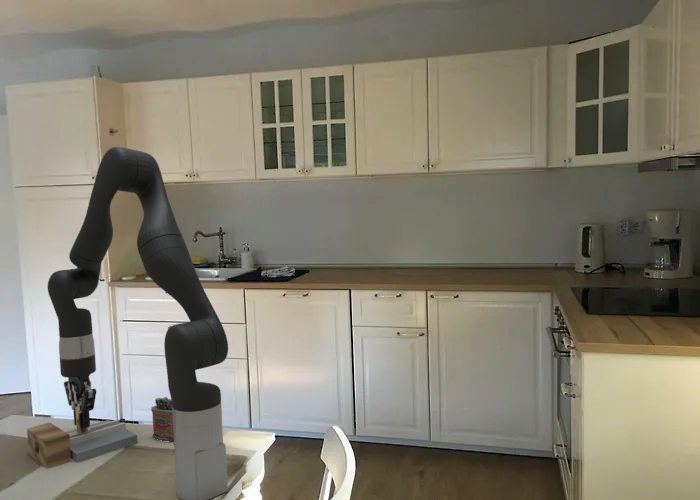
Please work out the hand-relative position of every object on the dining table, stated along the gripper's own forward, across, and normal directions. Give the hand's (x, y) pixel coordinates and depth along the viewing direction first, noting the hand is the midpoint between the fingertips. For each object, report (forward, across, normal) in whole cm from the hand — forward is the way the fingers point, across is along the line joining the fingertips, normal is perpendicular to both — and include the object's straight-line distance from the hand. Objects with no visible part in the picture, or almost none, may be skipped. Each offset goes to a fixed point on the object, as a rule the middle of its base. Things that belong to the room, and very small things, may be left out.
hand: (82, 425), depth 137 cm
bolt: (+3, 0, +3) cm, 4 cm away
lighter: (+5, -11, -15) cm, 20 cm away
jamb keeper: (+5, 0, +8) cm, 9 cm away
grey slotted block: (+5, 0, -2) cm, 6 cm away
